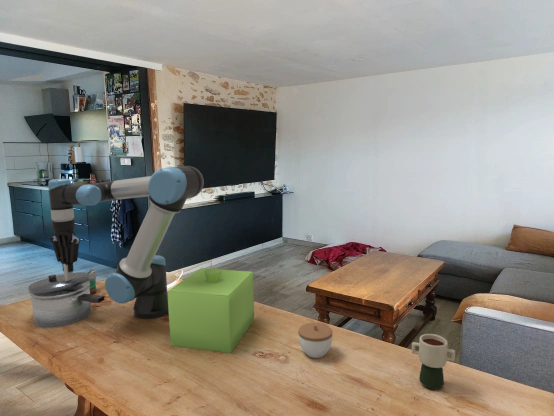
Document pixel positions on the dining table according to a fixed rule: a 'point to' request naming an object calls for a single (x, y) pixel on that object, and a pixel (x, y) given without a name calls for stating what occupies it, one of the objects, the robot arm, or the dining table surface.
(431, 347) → the character mug
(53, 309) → the cooker pot
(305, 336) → the lidded jar
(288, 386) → the dining table surface
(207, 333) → the canister
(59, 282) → the cooker lid
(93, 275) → the food container
